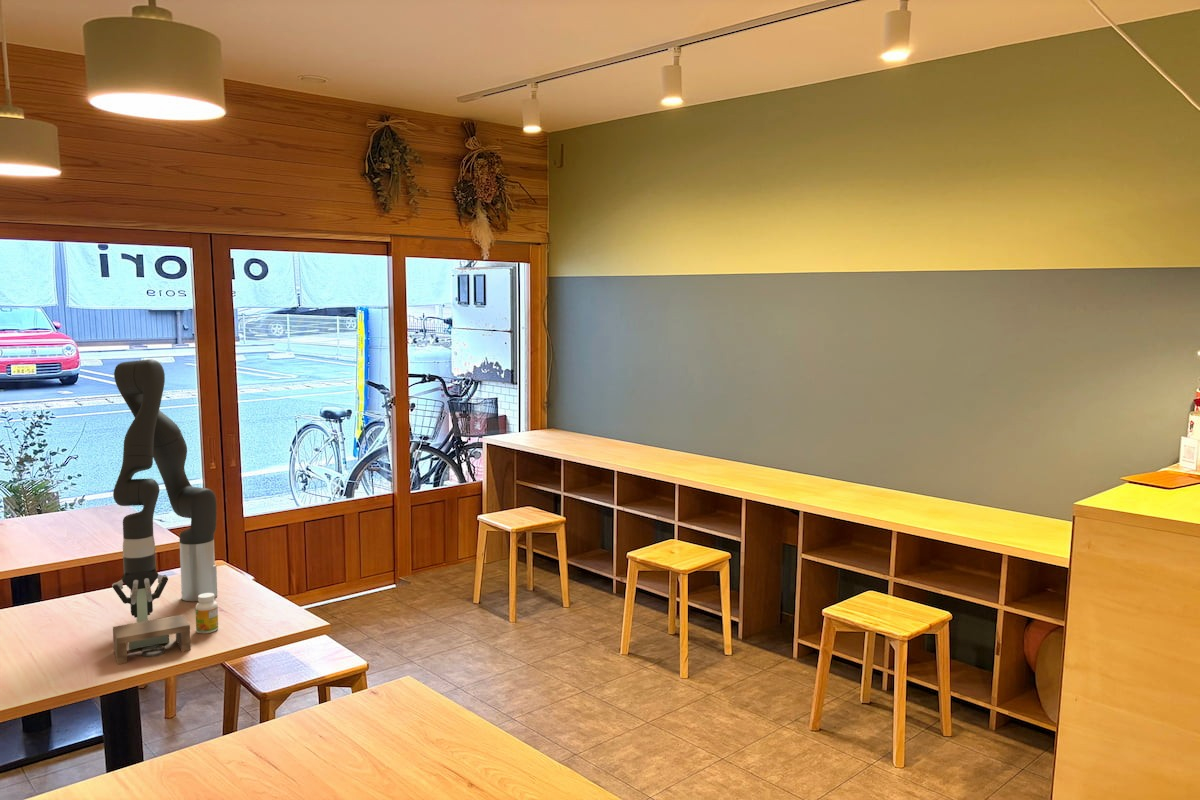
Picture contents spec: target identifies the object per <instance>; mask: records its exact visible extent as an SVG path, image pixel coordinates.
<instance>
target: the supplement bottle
mask: <svg viewBox="0 0 1200 800" xmlns="http://www.w3.org/2000/svg"><path fill="white" fill-rule="evenodd" d="M215 598H216V597H214V593H203V594H200V595H198V601H197V603H196V604H195V629H196V630H195V631H196V633H198V634H210V633H214V632H216V631H217V630H218V629H219V611H218V610H219V607H218V602H217V601H216V600H215Z"/></svg>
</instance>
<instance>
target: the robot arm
mask: <svg viewBox="0 0 1200 800" xmlns="http://www.w3.org/2000/svg"><path fill="white" fill-rule="evenodd" d="M165 375H166V374H165V369H164V368H163V365H162V364H161V363H160V362H159V361H157V360H156V359H142V360H141V359H140V360H139V359H138V360H130V361H123V362H120V363H118V364H117V365H116V366H115V367H114V372H113V376H114V378H113V379H114V382H115V385H116V388H117V389H118V391H119V393H120V395H121V397H122V398H123V400H124V401H125V404H126V406H128V408H129V410H130V412H131V414H132V415H133V417H134V419H133V420H132V423H131V424H130V426H129V427H128V429H127V431H126V433H125V436H124V439H123V451H122V452H123V453H122V464H121V469H120V471H119V475H118V478H117V480H116V482H115V485H114V487H113V488H114V489H113V493H112V496H113V500H114V501H115V503H116V504H117V505H118V506H120V507H131V506H132V507H133V506H143V507H142V510H141V511H139V512H135V513H134V512H133V513H130V514H126V516H124V517H123V519H122V534H123V535H122V536H123V539H122V540H123V541H122V542H123V543H122V559H123V560H122V562H123V565H122V566H123V575H122V577H121V579H120V580H118V581H117V582H113V583H112V584H111V587H112V589H113V590H114V592H115V593H116V595H117V596H118V597H119V599H120V600H121V602H122V603H123V604H126V605H127V604H129V605H130V614H131V616H132V617H134V618H136V619H137V603H136V597H137V589H143V588H145V590H146V595H147V613H148V616H151V613H153V611H154V609H153V604H154V603H153V602H154V600H156V599H159V598H160V597H161V595H162V593H163V591H164V589H165V587H166V586H167V584H168V581H169V578H168V576H167V575H166V574H164V575H162V574H159V573H158V571H157V565H156V564H157V563H156V562H157V561H156V542H155V537H154V513H155V509H156V505H157V501H158V498H159V494H160V486H159V484H158V481H156V479H153V478H133V476H134V475H135V474H136V473H140V472H142V471H143V472H144V471H146V470H148V471H149V470H150V469H151V468H152V467H153V463H154V462H155V465H156V467H157V470H158V471H159V474H160V477H161V479H162V481H163V484H164V486H165V490H166V494H167V497H168V500H169V504H170V506H171V508H172V510H173V512H174V513H175V514H176V516H178V517H180V518H184V519H190V528H187V529H183V530H182V531H181V532H180V533H179V536H178V537H179V560H180V561H179V562H180V565H179V566H180V583H181V584H180V585H181V586H180V587H181V589H180V590H181V600H183V601H186V602H198V595H200V594H203V593H214V597H215V598H216V597H218V577H217V576H218V574H217V573H218V571H217V568H218V567H217V565H216V563H215V562H216V559H215V557H216V556H215V532H216V529H217V513H218V512H217V511H218V508H217V506H218V505H217V496H216V494H215V492H214V491H213V490H212V489H211V488H205V487H199V486H198V487H196V486H193V485H191V483H190V481H189V479H188V476H187V475H186V471H185V464H186V459H187V455H188V447H187V443H186V440H185V438H184V436H183V434H182V433H183V432H182V431H181V428H180V427H179V426H178V424H177V423H176V422H175V421H173V420H172V419H171V418H170V417H168V415H166V414H165V413H164V412H162V411H161V410H160V408H161V403H162V398H163V394H164V389H165V381H166V380H165V379H166V378H165ZM156 580H157V582H158V584H157V586H156V588H155V590H154V592H153V593H152V586H153V584H154V583H155V582H156ZM123 585H125V586H127V588H129V591H130V592H129V595H130V596H127V595H126V594H125V593H124V591H123V589H124V586H123Z"/></svg>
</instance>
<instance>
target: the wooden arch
mask: <svg viewBox="0 0 1200 800" xmlns="http://www.w3.org/2000/svg"><path fill="white" fill-rule="evenodd" d="M190 627H191V626H190V623H189V621H188V619H187V617H186V616H185V614H179V615H178V614H177V615H172V616H168V617H167V616H166V617H161V618H156V619H148V621H143V622H138V623H137V622H133V623H128V624H127V623H126V624H123V625H117V626H116V625H115V626H112V637H113V639H112V640H113V641H112V642H113V653H114V657H115V660H116V663H117V665H121V664H126V663H128V649H127V648H128V647H127V643H129V642H133V641H138V640H143V639H149V638H154V637H159V636H165V635H169V636H170V635H174V634H175V641H176V643H177V645H178V646H179V649H180V651H181V653H182V652H183V653H184V652H187V651H191V649H192V648H191V645H192V644H191V628H190Z"/></svg>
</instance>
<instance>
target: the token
mask: <svg viewBox="0 0 1200 800" xmlns="http://www.w3.org/2000/svg"><path fill="white" fill-rule="evenodd" d="M165 650H166V649H165V646H164V645H160V644H157V645H152V646H147V647H143V648H142V649H141V657H144V658H152V657H154V658H155V657H158V656H161V655H163V654H164V653H165V652H166V651H165Z"/></svg>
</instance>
